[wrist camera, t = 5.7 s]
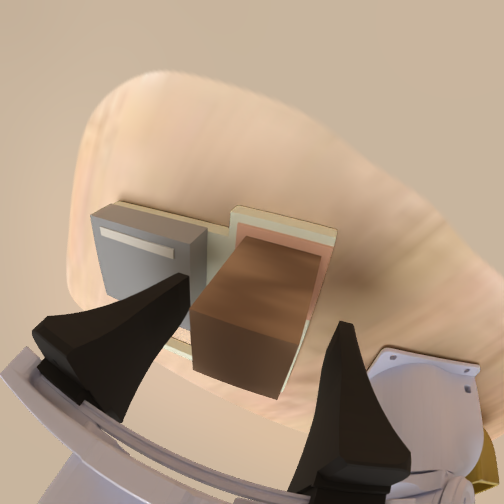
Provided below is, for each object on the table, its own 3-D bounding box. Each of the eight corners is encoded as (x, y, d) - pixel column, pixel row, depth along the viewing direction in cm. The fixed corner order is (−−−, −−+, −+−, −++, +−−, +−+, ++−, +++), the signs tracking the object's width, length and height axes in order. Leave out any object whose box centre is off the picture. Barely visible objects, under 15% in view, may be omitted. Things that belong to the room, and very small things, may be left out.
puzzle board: (337, 229, 14) (336, 239, 13) (285, 383, 22) (281, 394, 21) (117, 181, 17) (105, 186, 16) (140, 327, 25) (133, 335, 24)
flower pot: (433, 446, 21) (428, 509, 14) (399, 429, 21) (391, 505, 14) (495, 416, 16) (500, 484, 9) (473, 393, 16) (480, 480, 9)
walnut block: (321, 256, 14) (299, 345, 9) (303, 313, 16) (277, 399, 11) (246, 235, 15) (189, 308, 10) (239, 294, 17) (193, 369, 12)
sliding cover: (207, 227, 15) (188, 245, 14) (206, 312, 19) (192, 332, 17) (110, 203, 17) (89, 215, 15) (122, 280, 20) (106, 295, 19)
